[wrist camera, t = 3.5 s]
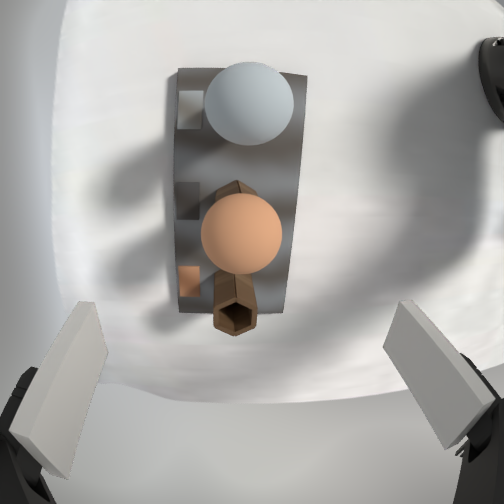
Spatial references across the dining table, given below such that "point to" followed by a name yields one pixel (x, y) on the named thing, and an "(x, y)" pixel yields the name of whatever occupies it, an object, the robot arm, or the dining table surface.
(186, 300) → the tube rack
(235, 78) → the ball grey
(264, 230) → the ball terracotta
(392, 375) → the dining table surface
